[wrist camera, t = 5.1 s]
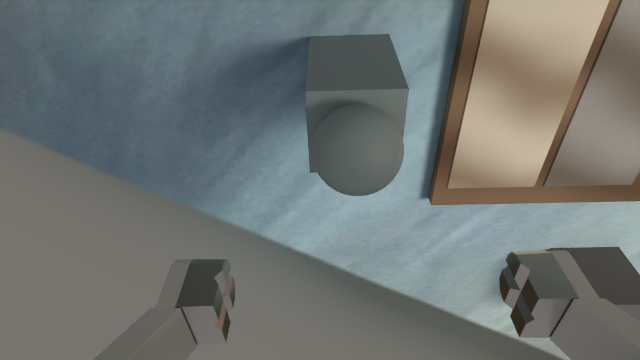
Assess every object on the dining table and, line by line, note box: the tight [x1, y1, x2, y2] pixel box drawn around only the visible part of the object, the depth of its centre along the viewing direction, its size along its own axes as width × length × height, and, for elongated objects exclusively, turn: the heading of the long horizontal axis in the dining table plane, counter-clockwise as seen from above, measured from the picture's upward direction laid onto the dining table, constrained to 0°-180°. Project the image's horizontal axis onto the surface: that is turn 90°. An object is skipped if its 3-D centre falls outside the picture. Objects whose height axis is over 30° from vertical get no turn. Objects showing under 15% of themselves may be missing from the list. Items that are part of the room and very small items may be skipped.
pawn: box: [305, 34, 409, 196], centre depth 18 cm, size 4×4×9 cm
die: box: [550, 247, 640, 321], centre depth 30 cm, size 5×5×5 cm
